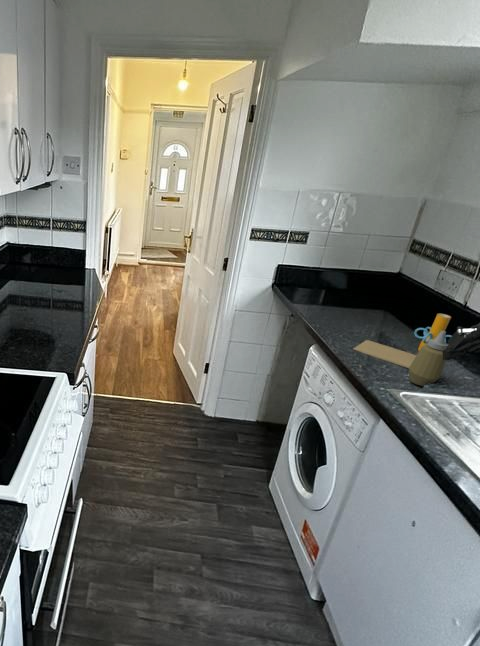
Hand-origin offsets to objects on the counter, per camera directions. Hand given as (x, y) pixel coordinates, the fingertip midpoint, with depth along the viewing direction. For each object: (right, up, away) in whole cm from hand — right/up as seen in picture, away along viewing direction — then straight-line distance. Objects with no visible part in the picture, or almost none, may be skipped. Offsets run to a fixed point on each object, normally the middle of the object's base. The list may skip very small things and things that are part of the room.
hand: (445, 355), depth 121 cm
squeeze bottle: (+1, -9, +11) cm, 15 cm away
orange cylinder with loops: (+22, -1, +34) cm, 40 cm away
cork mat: (+4, -1, +31) cm, 31 cm away
